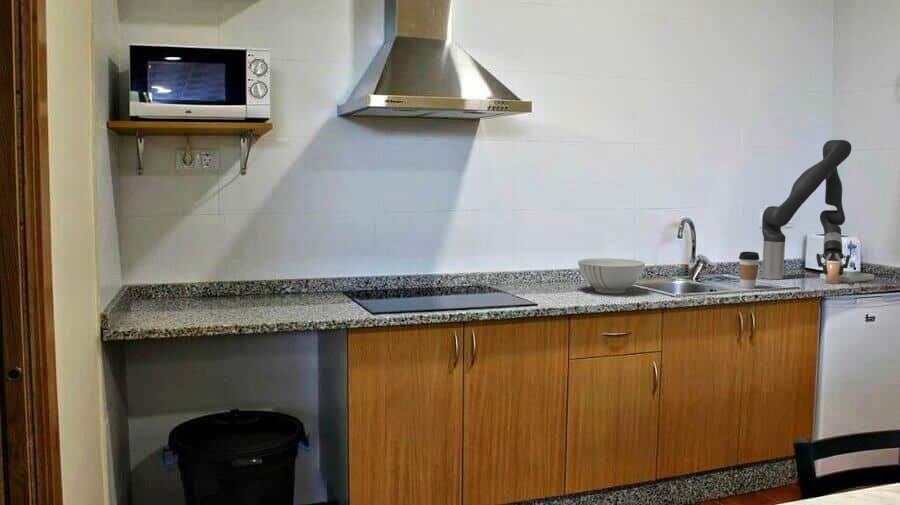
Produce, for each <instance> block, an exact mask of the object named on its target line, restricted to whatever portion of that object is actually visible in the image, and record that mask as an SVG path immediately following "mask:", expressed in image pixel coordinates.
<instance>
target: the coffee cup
mask: <svg viewBox="0 0 900 505" xmlns="http://www.w3.org/2000/svg"><path fill="white" fill-rule="evenodd" d="M738 260H739V263H738V266H739V267H738V268H739V288H741V289H748V290H749V289H755V288H756V283H757V277H758V271H759V270H758V269H759V260H760V254H759V252H755V251H743V252H740V253H739V256H738Z"/></svg>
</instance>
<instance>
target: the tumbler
mask: <svg viewBox="0 0 900 505" xmlns="http://www.w3.org/2000/svg"><path fill="white" fill-rule="evenodd" d="M840 263H841V261H836V260H827V265H826V266H827V273H826V280H825V284H830V285H839V284H840V282H839V277H840Z"/></svg>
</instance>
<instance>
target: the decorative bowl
mask: <svg viewBox="0 0 900 505" xmlns="http://www.w3.org/2000/svg"><path fill="white" fill-rule="evenodd" d="M577 264H578V268H579V271H580V272H581V275H582V277H583V278H584V280H585V281H586V282H587V283H588V284H589V285H590V286H591V287H593V288H594V291H596V292H598V293H602V294H623V293H626V291H627V289H629V288H631V287H632V286H633V285H634V284H636V283H637V282H638V280H639V279H640V277H641V275H642V274H643V272H644V269H645V266H646V264H645V262H643V261H641V260H637V259H636V260H635V259H629V258H614V257H613V258H612V257H592V258H591V257H590V258H582V259H579V260H578V261H577Z"/></svg>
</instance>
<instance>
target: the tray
mask: <svg viewBox="0 0 900 505" xmlns="http://www.w3.org/2000/svg"><path fill="white" fill-rule="evenodd" d="M819 280H823V281H824V280H825V281H826V275H825V274H824V273H823V272H822V273H820V274H819ZM874 280H875V274H873V273H865V272H858V271H849V270H844V272H843V274H842V275H840V277H839V283H846V284H852V283H853V284H854V283H861V282H869V281H874Z"/></svg>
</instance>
